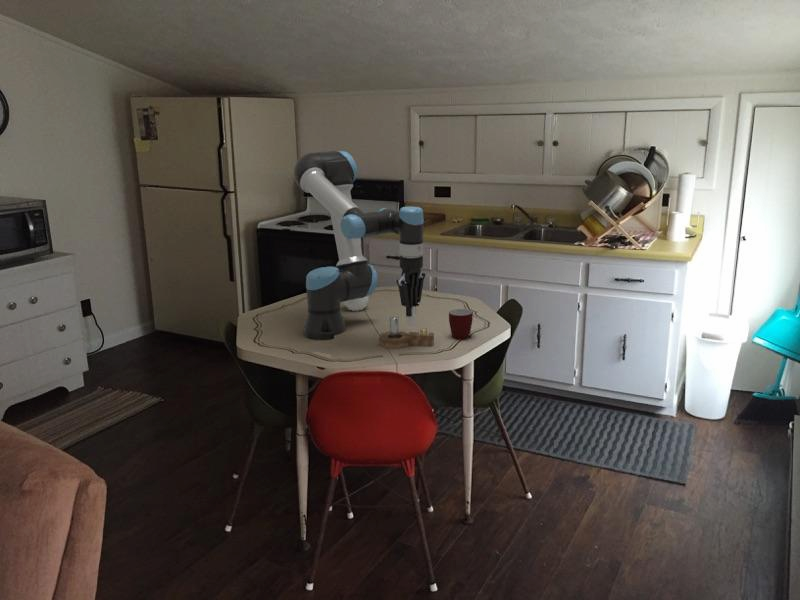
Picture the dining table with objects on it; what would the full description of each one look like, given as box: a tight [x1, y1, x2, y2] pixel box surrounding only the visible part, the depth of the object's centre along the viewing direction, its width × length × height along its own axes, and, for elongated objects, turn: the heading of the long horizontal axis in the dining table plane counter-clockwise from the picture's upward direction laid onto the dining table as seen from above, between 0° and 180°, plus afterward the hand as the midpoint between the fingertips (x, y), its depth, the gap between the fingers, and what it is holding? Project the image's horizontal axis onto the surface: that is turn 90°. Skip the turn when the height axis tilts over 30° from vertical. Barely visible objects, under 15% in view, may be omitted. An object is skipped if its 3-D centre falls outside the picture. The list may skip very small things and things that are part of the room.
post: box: [389, 316, 400, 339], centre depth 231 cm, size 3×3×9 cm
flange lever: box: [378, 331, 435, 349], centre depth 231 cm, size 18×10×4 cm, turn 81°
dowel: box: [419, 327, 428, 335], centre depth 231 cm, size 2×2×5 cm
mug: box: [448, 308, 474, 340], centre depth 238 cm, size 11×8×10 cm
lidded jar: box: [343, 296, 370, 312], centre depth 277 cm, size 11×11×9 cm
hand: (411, 324), depth 228 cm, fingers closed
